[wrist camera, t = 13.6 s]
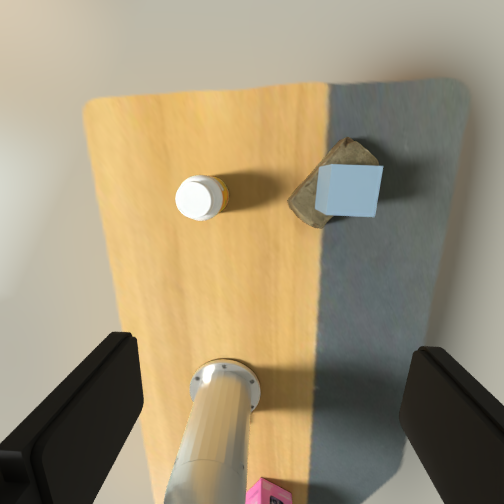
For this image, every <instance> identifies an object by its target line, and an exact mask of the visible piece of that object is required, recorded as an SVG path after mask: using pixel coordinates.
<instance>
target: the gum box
mask: <svg viewBox="0 0 504 504" xmlns="http://www.w3.org/2000/svg"><path fill="white" fill-rule="evenodd" d="M245 504H292V494H291V493H290V492H288V491H286V490H284V489H282V488H281V487H279V486H277V485H275V484H273V483H271V482H269V481H267V480H265V479H263V478H260V479H259V481H258V482H257V483H256V484H255V485H254V486H253V487H252V488H250V489H249V491H248V492H247V493H246V503H245Z"/></svg>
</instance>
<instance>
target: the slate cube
mask: <svg viewBox="0 0 504 504" xmlns="http://www.w3.org/2000/svg"><path fill="white" fill-rule="evenodd" d="M382 172H383V166H369V165H341V164H330V165H326V166H321V167H319V172H318V182H317V191H316V201H315V209H316V210H318V211H320V212H322V213H323V214H325V215H338V216H362V217H375V213H376V207H377V201H378V195H379V189H380V183H381V177H382Z"/></svg>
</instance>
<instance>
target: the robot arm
mask: <svg viewBox="0 0 504 504" xmlns="http://www.w3.org/2000/svg"><path fill="white" fill-rule="evenodd" d="M190 396H191V399H192V401H193V406H192V409H191V412H190V415H189V419H188V422H187V425H186V428H185V431H184V434H183V438H182V441H181V444H180V447H179V450H178V454H177V457H176V460H175V463H174V466H173V469H172V473H171V476H170V479H169V482H168V485H167V489H166V493H165V498H164V504H245V503H246V486H247V468H248V450H249V432H250V415H251V412H252V411H253V410H254V409H255V408H256V406H257V405H258V402H259V400H260V383H259V381H258V378H257V377H256V375H255V374H254V372H253V371H252V370H251V369H250V368H248V367H247V366H245V365H244V364H242V363H239V362H237V361H233V360H226V359H220V360H214V361H210V362H208V363H205V364H204V365H202V366H201V367H199V369H198V370H197V371H196V372H195V373H194V375H193V377H192V380H191V383H190ZM143 403H144V397H143V389H142V380H141V371H140V362H139V354H138V345H137V339H136V337H133V336H132V334H131V333H130V332H112V333H110V334H109V335H108V336H107V337H106V338H105V339H104V340H103V341H102V342H101V343H100V344H99V345H98V346H97V347H96V348H95V349H94V350H93V351H92V352H91V353H90V354H89V355H88V356H87V357H86V358H85V359H84V360H83V361H82V362H81V363H80V364H79V365H78V366H77V367H76V368H75V369H74V370H73V371H72V372H71V373H70V374H69V375H68V376H67V377H66V378H65V379H64V380H63V381H62V382H61V383H60V384H59V385H58V386H57V387H56V388H55V389H54V390H53V391H52V392H51V393H50V394H49V395H48V396H47V397H46V398H45V399H44V400H43V401H42V402H41V403H40V404H39V406H38V407H36V408H35V409H34V410H33V411H32V412H31V413H30V414H29V415H28V416H27V417H26V418H25V419H24V420H23V421H22V422H21V423H20V424H19V425H18V426H17V427H16V429H14V430H13V431H12V432H11V433H10V435H9V436H7V437H6V438H5V440H3V441H2V442H1V443H0V504H93V502H94V500H95V498H96V496H97V494H98V492H99V490H100V489H101V487H102V485H103V483H104V481H105V479H106V477H107V475H108V473H109V471H110V469H111V468H112V466H113V464H114V462H115V460H116V458H117V456H118V454H119V452H120V451H121V449H122V447H123V445H124V443H125V441H126V439H127V437H128V435H129V434H130V432H131V430H132V428H133V426H134V424H135V422H136V420H137V418H138V417H139V415H140V413H141V410H142V408H143ZM399 420H400V424H401V426H402V429H403V430H404V432H405V434H406V436H407V437H408V439H409V441H410V443H411V445H412V446H413V448H414V450H415V452H416V454H417V455H418V457H419V459H420V461H421V463H422V464H423V466H424V468H425V470H426V471H427V473H428V475H429V477H430V479H431V480H432V482H433V484H434V486H435V488H436V489H437V491H438V493H439V495H440V497H441V499H442V500H443V502H444V504H504V406H503V405H502V404H501V403H500V402H499V401H498V400H497V399H496V398H495V397H494V396H493V395H492V394H491V393H490V392H488V391H487V389H486V388H484V387H483V386H482V385H481V384H480V383H479V382H478V381H477V380H476V379H475V378H474V377H473V376H472V375H471V374H470V373H469V372H467V371H466V370H465V369H464V368H463V367H462V366H461V365H460V364H459V363H458V362H457V361H456V360H455V359H454V358H453V357H452V356H451V355H449V354H448V353H447V352H446V351H445V350H444V349H443V348H441V347H428V346H421V347H419V349H418V351H414V353H413V356H412V360H411V365H410V369H409V373H408V378H407V382H406V386H405V391H404V395H403V399H402V403H401V408H400V412H399Z"/></svg>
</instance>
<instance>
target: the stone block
mask: <svg viewBox="0 0 504 504" xmlns="http://www.w3.org/2000/svg"><path fill="white" fill-rule="evenodd" d="M330 164H341V165H369V166H379V162H378V160H377V159H376V158H375V157H374V156H373V155H372V154H371V153H370V152H369V151H368V150H367V149H365V148H364V147H363V146H362V145H361V144H359V143H358V142H357V141H354V140H352V139H351V138H349V137H346V138H344V139H342V140H339V141H338V142H337V143H336V145H335V146H334V147H333V148H332V149H331V150H330V152H329V153H328V154H327V155H326V156H325V157H324V158H323V160H322V161H321V162H320V163H319V164H318V165H317V167H316V168H315V169H314V170H313V171H312V173H311V174H310V175H309V176H308V177H307V178H306V179H305V180H304V181H303V182H302V183H301V184H300V185H299V186H298V187H297V189H296V190H295V191H294V192H293V193H292V195H291V196H290V197H289V199H288V200H287V201H288V205H289V207H290V209H291V210H292V211H293V212H294V213H295V215H296V216H297V217H298V218H300V219H301V220H302V221H303V222H305V223H306V224H308V225H310V226H312V227H314V228H323V227H324V225H325V224H326V223H327V222H328V221H329V220H330V219H331V218H332V217H333V216H334V215H325V214H323V213H322V212H320V211H318V210H316V209H315V201H316V191H317V182H318V172H319V167H321V166H326V165H330Z"/></svg>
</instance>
